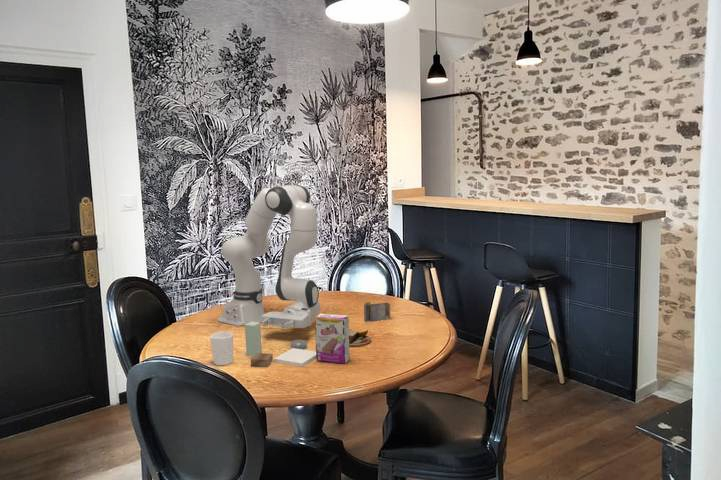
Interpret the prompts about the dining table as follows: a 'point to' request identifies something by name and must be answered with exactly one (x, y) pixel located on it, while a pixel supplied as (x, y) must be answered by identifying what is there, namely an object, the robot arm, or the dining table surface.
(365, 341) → the toy sandwich meal
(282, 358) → the plate
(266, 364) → the walnut block
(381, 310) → the dark grey piece
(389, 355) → the dining table surface
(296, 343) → the grey domed disc
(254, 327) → the sage block
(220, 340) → the white cup
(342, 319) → the candy bar box
